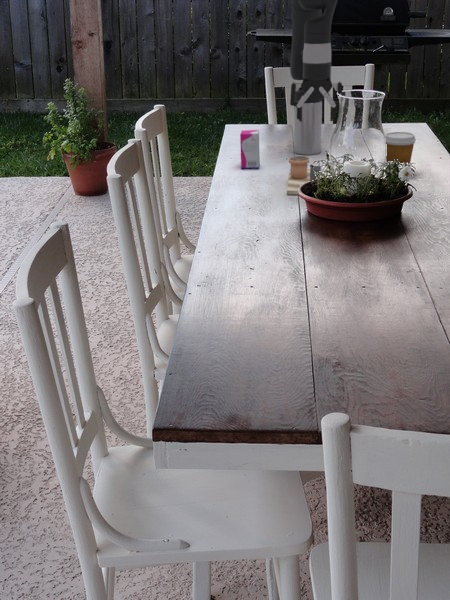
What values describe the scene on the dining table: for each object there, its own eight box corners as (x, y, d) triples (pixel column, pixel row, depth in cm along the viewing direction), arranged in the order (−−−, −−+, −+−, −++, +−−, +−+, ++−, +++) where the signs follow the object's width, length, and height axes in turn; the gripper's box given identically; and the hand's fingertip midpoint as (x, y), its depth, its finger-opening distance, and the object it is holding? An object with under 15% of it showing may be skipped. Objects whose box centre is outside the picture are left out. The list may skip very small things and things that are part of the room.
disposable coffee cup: (414, 170, 247) (417, 132, 242) (412, 178, 239) (415, 139, 234) (383, 169, 250) (385, 131, 245) (380, 177, 241) (382, 138, 236)
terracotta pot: (289, 174, 243) (289, 155, 241) (309, 174, 242) (309, 155, 240) (288, 179, 237) (288, 160, 235) (308, 179, 237) (308, 160, 234)
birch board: (289, 172, 249) (290, 150, 246) (322, 172, 248) (322, 150, 245) (286, 194, 227) (286, 170, 224) (322, 194, 226) (322, 170, 223)
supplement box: (259, 164, 259) (259, 129, 254) (258, 169, 254) (258, 133, 249) (242, 164, 260) (241, 129, 255) (240, 169, 254) (240, 133, 250)
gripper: (343, 58, 217) (341, 118, 223) (291, 59, 218) (290, 118, 225) (344, 61, 210) (342, 123, 216) (290, 62, 211) (289, 123, 218)
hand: (315, 120), depth 220 cm, fingers open, 8 cm apart
